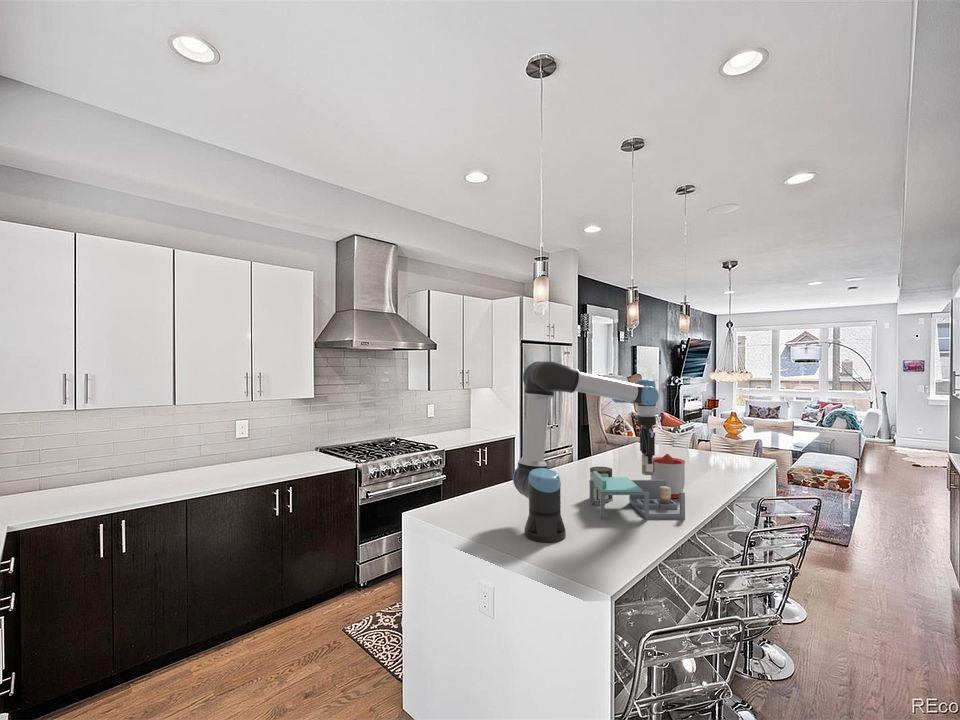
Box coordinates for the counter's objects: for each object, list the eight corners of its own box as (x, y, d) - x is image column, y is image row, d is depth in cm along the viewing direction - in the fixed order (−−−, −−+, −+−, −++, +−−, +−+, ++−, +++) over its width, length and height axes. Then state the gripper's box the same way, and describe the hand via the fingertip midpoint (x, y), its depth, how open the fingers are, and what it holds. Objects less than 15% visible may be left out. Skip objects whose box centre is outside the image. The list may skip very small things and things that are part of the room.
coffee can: (603, 494, 227) (603, 465, 227) (617, 500, 217) (617, 469, 217) (585, 497, 223) (585, 467, 223) (598, 503, 213) (598, 472, 214)
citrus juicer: (643, 490, 233) (642, 450, 233) (679, 491, 232) (678, 450, 232) (651, 499, 218) (651, 456, 218) (690, 500, 216) (690, 457, 216)
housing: (685, 518, 191) (684, 492, 191) (601, 519, 191) (600, 493, 191) (664, 502, 213) (664, 479, 213) (589, 503, 213) (589, 480, 213)
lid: (642, 492, 191) (642, 482, 191) (603, 492, 191) (603, 482, 191) (626, 479, 213) (626, 469, 213) (591, 479, 213) (591, 470, 213)
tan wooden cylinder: (672, 508, 198) (672, 489, 199) (661, 508, 199) (661, 489, 199) (668, 504, 203) (668, 486, 203) (658, 504, 203) (657, 486, 203)
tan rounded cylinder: (644, 475, 199) (643, 456, 199) (640, 472, 203) (640, 454, 203) (654, 475, 199) (654, 456, 199) (650, 472, 203) (650, 454, 203)
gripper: (662, 417, 193) (663, 474, 192) (648, 413, 210) (649, 465, 209) (644, 417, 193) (645, 474, 192) (631, 413, 210) (632, 465, 210)
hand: (647, 470), depth 201 cm, fingers closed on tan rounded cylinder, 4 cm apart
